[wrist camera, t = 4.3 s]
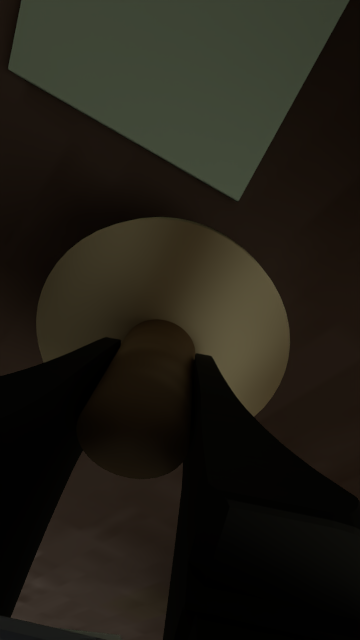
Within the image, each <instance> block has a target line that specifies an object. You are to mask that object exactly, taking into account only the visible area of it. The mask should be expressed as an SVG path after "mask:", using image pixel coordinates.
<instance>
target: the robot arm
mask: <svg viewBox="0 0 360 640" xmlns="http://www.w3.org/2000/svg"><path fill="white" fill-rule="evenodd" d="M120 346H121V340H120V339H114V338H109V337H104V338H101V339H99V340H97V341H94V342H92V343H90V344H88V345H86V346H83V347H81V348H79V349H77V350H74V351H72V352H70V353H68V354H65V355H63V356H60V357H58V358H55V359H52V360H50V361H47V362H45V363H42V364H39V365H37V366H34V367H31V368H28V369H24V370H21V371H18V372H14V373H11V374H7V375H3V376H0V640H106V639H102V638H97V637H93V636H88V635H84V634H80V633H75V632H71V631H66V630H62V629H58V628H53V627H49V626H44V625H40V624H36V623H31V622H27V621H22V620H18V619H13V618H10V617H11V615H12V612H13V610H14V607H15V605H16V602H17V600H18V597H19V595H20V592H21V590H22V587H23V585H24V582H25V580H26V577H27V575H28V572H29V569H30V567H31V565H32V562H33V560H34V557H35V555H36V553H37V550H38V548H39V545H40V543H41V541H42V538H43V536H44V533H45V531H46V529H47V526H48V524H49V522H50V519H51V517H52V515H53V513H54V510H55V508H56V506H57V503H58V501H59V499H60V497H61V494H62V492H63V490H64V488H65V485H66V483H67V481H68V479H69V477H70V475H71V472H72V470H73V468H74V466H75V464H76V462H77V460H78V458H79V456H80V455H81V453H82V451H83V449H82V447H81V445H80V443H79V441H78V438H77V432H76V427H77V421H78V418H79V416H80V414H81V412H82V410H83V409H84V407H85V405H86V404H87V402H88V400H89V399H90V397H91V395H92V393H93V392H94V390H95V388H96V387H97V385H98V383H99V382H100V380H101V378H102V376H103V375H104V373H105V371H106V370H107V368H108V366H109V365H110V363H111V361H112V359H113V358H114V356H115V354H116V353H117V351H118V349H119V348H120ZM163 640H360V502H359V500H358V498H357V497H355V496H354V495H352V494H351V493H349V492H348V491H346V490H345V489H343V488H342V487H340V486H339V485H337V484H336V483H334V482H333V481H331V480H330V479H328V478H327V477H325V476H324V475H322V474H321V473H319V472H318V471H316V470H315V469H314V468H312V467H311V466H310V465H308V464H307V463H306V462H304V461H303V460H302V459H300V458H299V457H298V456H296V455H295V454H294V453H293V452H291V451H290V450H289V449H288V448H286V447H285V446H284V445H283V444H282V443H280V442H279V441H278V440H277V439H276V438H275V437H274V436H273V435H272V434H270V433H269V432H268V431H267V430H266V429H265V428H264V427H263V426H262V425H261V424H260V423H259V422H258V421H257V420H256V419H255V418H254V417H253V416H252V414H251V413H250V412H249V411H248V410H247V409H246V408H245V407H244V405H243V404H242V403H241V402H240V401H239V399H238V398H237V397H236V395H235V394H234V392H233V391H232V390H231V388H230V387H229V385H228V383H227V382H226V380H225V379H224V377H223V375H222V374H221V372H220V370H219V368H218V367H217V365H216V363H215V361H214V359H213V357H212V356H210V355H204V354H198V353H196V354H195V359H194V368H193V390H192V409H191V424H190V438H189V449H188V453H187V455H186V457H185V459H184V461H183V478H182V491H181V499H180V508H179V516H178V525H177V533H176V541H175V549H174V557H173V565H172V573H171V581H170V589H169V597H168V605H167V613H166V620H165V628H164V636H163Z"/></svg>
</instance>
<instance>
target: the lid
mask: <svg viewBox="0 0 360 640" xmlns="http://www.w3.org/2000/svg"><path fill="white" fill-rule="evenodd" d="M36 330H37V339H38V345H39V349H40V353H41V356H42V359H43V362H44V363H45V362H47V361H50V360H52V359H55V358H58V357H60V356H63V355H65V354H68V353H70V352H72V351H74V350H77V349H79V348H81V347H83V346H86V345H88V344H90V343H92V342H94V341H97V340H99V339H101V338H104V337H109V338H114V339H120V340H121V346H120V348H119V349H118V351H117V353H116V354H115V356H114V358H113V359H112V361H111V363H110V365H109V366H108V368H107V370H106V371H105V373H104V375H103V376H102V378H101V380H100V382H99V383H98V385H97V387H96V388H95V390H94V392H93V393H92V395H91V397H90V399H89V400H88V402H87V404H86V405H85V407H84V409H83V410H82V412H81V414H80V416H79V418H78V421H77V427H76V432H77V438H78V441H79V443H80V445H81V447H82V449H83V451H84V452H85V453H86V454H87V456H88V457H89V458H90V459H91V460H92V461H93V462H95V463H96V464H97V465H99V466H100V467H102V468H103V469H105V470H107V471H109V472H111V473H114V474H116V475H120V476H123V477H128V478H135V479H149V478H156V477H159V476H163V475H165V474H168V473H170V472H171V471H173V470H175V469H176V468H177V467H178V466H179V465H180V464H181V463H182V462H183V461H184V459H185V457H186V455H187V453H188V449H189V438H190V424H191V409H192V390H193V368H194V359H195V354H196V353H198V354H204V355H210V356H212V357H213V359H214V361H215V363H216V365H217V367H218V368H219V370H220V372H221V374H222V375H223V377H224V379H225V380H226V382H227V383H228V385H229V387H230V388H231V390H232V391H233V392H234V394H235V395H236V397H237V398H238V399H239V401H240V402H241V403H242V404H243V405H244V407H245V408H246V409H247V410H248V411H249V412H250V413H251V414H252V416H253V417H254V416H255V415H256V414H257V413H258V412H259V411H260V410H262V409H263V407H264V406H265V405H266V404H267V403H268V401H269V400H270V399H271V398H272V396H273V394H274V393H275V391H276V390H277V388H278V386H279V384H280V382H281V380H282V377H283V375H284V373H285V369H286V365H287V361H288V356H289V347H290V336H289V325H288V320H287V315H286V311H285V308H284V305H283V303H282V300H281V297H280V295H279V293H278V291H277V290H276V288H275V286H274V284H273V282H272V281H271V279H270V278H269V277H268V275H267V274H266V273H265V271H264V270H263V269H262V268H261V266H260V265H259V264H258V263H257V261H256V260H255V259H254V258H253V257H252V256H251V255H250V254H249V253H248V252H247V251H246V250H245V249H244V248H243V247H242V246H240V245H239V244H237V243H236V242H235V241H233V240H232V239H231V238H229V237H228V236H226V235H224V234H222V233H220V232H218V231H217V230H215V229H213V228H210V227H208V226H205V225H202V224H199V223H197V222H193V221H189V220H184V219H179V218H170V217H149V218H139V219H135V220H130V221H126V222H121V223H118V224H114V225H112V226H109V227H106V228H104V229H101V230H98V231H96V232H95V233H93V234H91V235H89V236H87V237H86V238H84V239H82V240H81V241H80V242H78V243H77V244H76V245H74V246H73V247H72V248H71V249H69V250H68V251H67V252H66V253H65V255H64V256H63V257H62V258H61V259H60V260H59V261H58V262H57V264H56V265H55V267H54V268H53V270H52V271H51V273H50V274H49V276H48V278H47V280H46V282H45V284H44V286H43V289H42V292H41V295H40V299H39V302H38V308H37V316H36Z"/></svg>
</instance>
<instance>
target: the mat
mask: <svg viewBox="0 0 360 640" xmlns="http://www.w3.org/2000/svg"><path fill="white" fill-rule="evenodd" d="M348 2H349V0H21V5H20V10H19V15H18V20H17V26H16V31H15V36H14V41H13V46H12V51H11V56H10V61H9V66H8V69H9V70H10V71H12V72H13V73H14V74H16V75H17V76H19V77H21V78H23V79H24V80H26V81H28V82H30V83H31V84H33V85H35V86H37V87H38V88H40V89H42V90H44V91H45V92H47V93H49V94H51V95H52V96H54V97H56V98H57V99H59V100H61V101H63V102H64V103H66V104H68V105H70V106H71V107H73V108H75V109H77V110H78V111H80V112H82V113H84V114H85V115H87V116H89V117H91V118H92V119H94V120H96V121H98V122H99V123H101V124H103V125H104V126H106V127H108V128H110V129H111V130H113V131H115V132H117V133H118V134H120V135H122V136H124V137H125V138H127V139H129V140H131V141H132V142H134V143H136V144H138V145H139V146H141V147H143V148H145V149H146V150H148V151H150V152H151V153H153V154H155V155H157V156H158V157H160V158H162V159H164V160H165V161H167V162H169V163H171V164H172V165H174V166H176V167H178V168H179V169H181V170H183V171H185V172H186V173H188V174H190V175H192V176H193V177H195V178H197V179H199V180H200V181H202V182H204V183H205V184H207V185H209V186H211V187H212V188H214V189H216V190H218V191H219V192H221V193H223V194H225V195H226V196H228V197H230V198H232V199H233V200H235V201H237V202H238V201H239V199H240V197H241V195H242V194H243V192H244V190H245V188H246V186H247V185H248V183H249V181H250V179H251V177H252V176H253V174H254V172H255V170H256V168H257V166H258V165H259V163H260V161H261V159H262V157H263V156H264V154H265V152H266V150H267V148H268V147H269V145H270V143H271V141H272V139H273V138H274V136H275V134H276V132H277V130H278V128H279V127H280V125H281V123H282V121H283V119H284V118H285V116H286V114H287V112H288V110H289V109H290V107H291V105H292V103H293V101H294V100H295V98H296V96H297V94H298V92H299V90H300V89H301V87H302V85H303V83H304V81H305V80H306V78H307V76H308V74H309V72H310V71H311V69H312V67H313V65H314V63H315V62H316V60H317V58H318V56H319V54H320V52H321V51H322V49H323V47H324V45H325V43H326V42H327V40H328V38H329V36H330V34H331V33H332V31H333V29H334V27H335V25H336V24H337V22H338V20H339V18H340V16H341V14H342V13H343V11H344V9H345V7H346V5H347V4H348Z"/></svg>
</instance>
